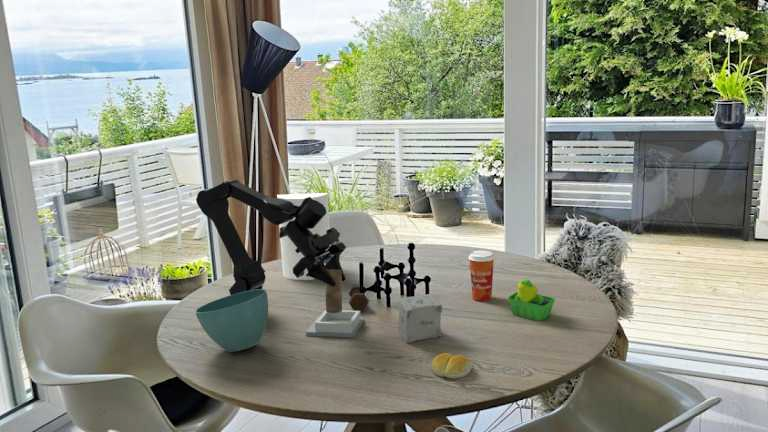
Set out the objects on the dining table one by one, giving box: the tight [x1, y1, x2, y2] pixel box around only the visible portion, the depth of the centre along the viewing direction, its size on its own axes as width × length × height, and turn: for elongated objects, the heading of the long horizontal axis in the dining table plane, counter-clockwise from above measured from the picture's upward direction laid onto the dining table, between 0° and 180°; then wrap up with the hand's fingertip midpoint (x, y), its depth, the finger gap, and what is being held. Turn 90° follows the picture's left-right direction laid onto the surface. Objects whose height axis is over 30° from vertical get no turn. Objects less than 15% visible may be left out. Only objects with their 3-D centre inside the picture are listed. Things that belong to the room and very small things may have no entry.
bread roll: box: [431, 352, 473, 379], centre depth 157 cm, size 8×9×4 cm
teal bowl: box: [194, 288, 269, 353], centre depth 174 cm, size 18×18×12 cm
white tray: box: [305, 309, 365, 338], centre depth 186 cm, size 13×12×4 cm
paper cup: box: [468, 250, 496, 303], centre depth 204 cm, size 8×8×14 cm
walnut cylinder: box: [324, 269, 343, 313], centre depth 184 cm, size 4×4×11 cm
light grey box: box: [397, 293, 443, 344], centre depth 177 cm, size 10×8×10 cm
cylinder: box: [276, 192, 331, 281], centre depth 236 cm, size 17×17×28 cm
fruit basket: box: [507, 278, 556, 322], centre depth 189 cm, size 11×9×11 cm
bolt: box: [348, 284, 369, 312], centre depth 206 cm, size 6×5×15 cm
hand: (339, 282), depth 182 cm, fingers closed on walnut cylinder, 4 cm apart
